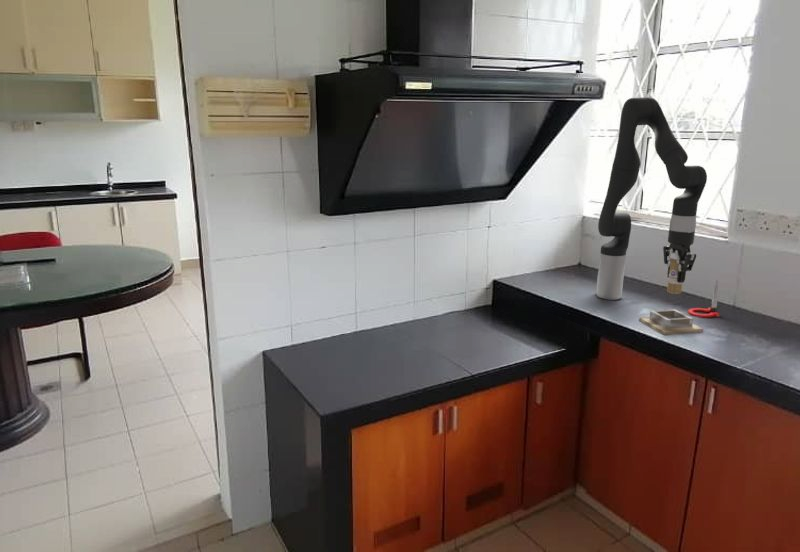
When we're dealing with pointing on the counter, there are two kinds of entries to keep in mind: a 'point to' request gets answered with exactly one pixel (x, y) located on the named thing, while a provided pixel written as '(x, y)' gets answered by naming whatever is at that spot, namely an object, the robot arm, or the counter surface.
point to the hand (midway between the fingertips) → (675, 279)
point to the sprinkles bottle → (674, 276)
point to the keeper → (670, 322)
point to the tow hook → (712, 309)
